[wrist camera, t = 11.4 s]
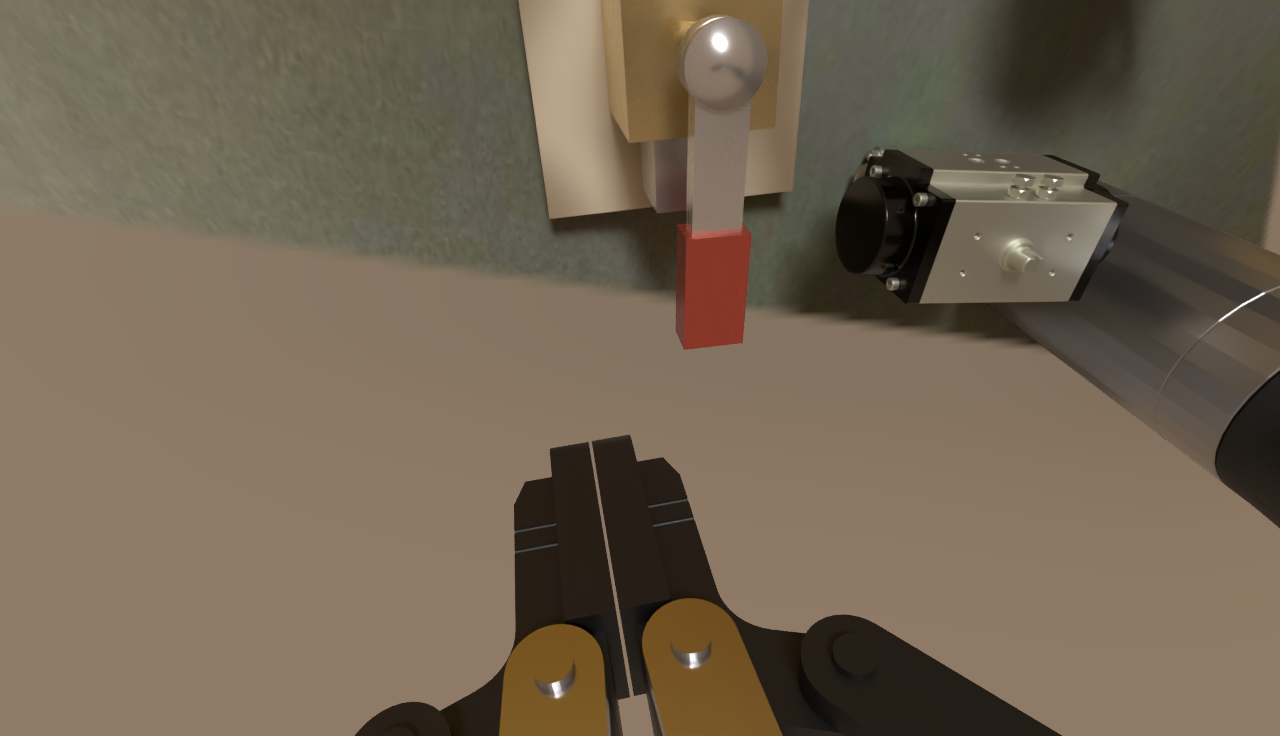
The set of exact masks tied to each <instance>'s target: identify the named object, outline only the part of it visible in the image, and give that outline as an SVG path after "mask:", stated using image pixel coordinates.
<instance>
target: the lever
mask: <svg viewBox="0 0 1280 736" xmlns="http://www.w3.org/2000/svg"><path fill="white" fill-rule="evenodd" d="M766 69H767V51H766V46H765V43H764V41H763V39H762V37H761V35H760V34H759V32H758V31H757V30H756V29H755V28H754V27H753V26H752V25H750V24H749V23H747V22H745V21H742V20H739V19H737V18H734V17H731V16H728V15H723V14H715V15H710V16H707V17H704V18H702V19H700V20H699V21H697V22H696V23H695V24H693V25H692V26H691V27H690V28H689V30H688V31H687V32H686V34H685V35H684V37H683V39H682V41H681V43H680V46H679V49H678V54H677V71H678V75H679V79H680V81H681V83H682V85H683V86H684V88H685V89H686V90H687V92H688V93H689V98H688V149H687V201H686V224H678V225H677V274H676V332H677V334H678V336H679V339H680V341H681V344H682V346H683V348H684V349H694V348H702V347H711V346H720V345H728V344H737V343H743V331H744V319H745V307H746V295H747V282H748V270H749V258H750V246H751V233H750V232H749V230H748V229H747V228H746V227H745V226H744V224H743V223H742V221H743V207H744V193H745V179H746V165H747V152H748V138H749V124H750V110H751V98H752V97H753V96H754V95H755V93H756V92H757V91H758V89H759V88H760V86H761V84H762V82H763V80H764V77H765V73H766Z"/></svg>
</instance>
